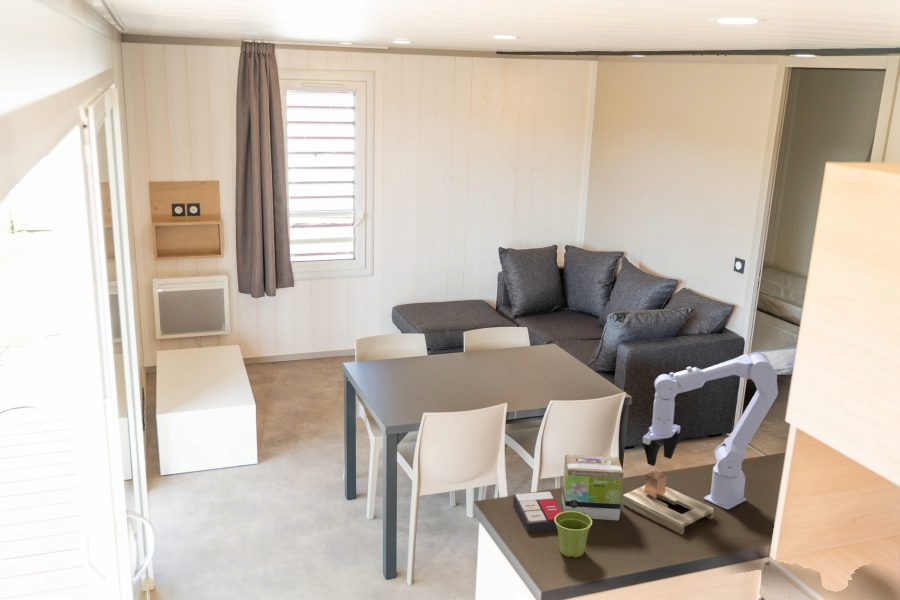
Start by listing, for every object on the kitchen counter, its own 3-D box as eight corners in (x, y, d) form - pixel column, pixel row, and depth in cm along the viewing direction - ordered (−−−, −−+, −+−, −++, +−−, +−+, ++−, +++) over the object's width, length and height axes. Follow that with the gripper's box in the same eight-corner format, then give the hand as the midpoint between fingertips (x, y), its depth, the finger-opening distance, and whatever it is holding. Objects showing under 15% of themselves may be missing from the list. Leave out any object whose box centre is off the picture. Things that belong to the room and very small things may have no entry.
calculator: (527, 521, 208) (513, 492, 222) (527, 536, 209) (512, 505, 223) (568, 518, 210) (551, 489, 224) (567, 532, 211) (550, 502, 225)
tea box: (564, 519, 216) (567, 469, 212) (561, 501, 226) (564, 453, 222) (620, 521, 215) (623, 471, 212) (615, 503, 225) (618, 455, 221)
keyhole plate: (653, 490, 233) (654, 481, 232) (712, 518, 217) (713, 508, 217) (622, 504, 224) (622, 494, 224) (681, 534, 209) (682, 524, 208)
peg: (652, 499, 227) (654, 470, 225) (664, 505, 224) (667, 475, 222) (642, 504, 225) (644, 474, 222) (655, 510, 221) (657, 480, 219)
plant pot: (545, 549, 201) (546, 518, 199) (571, 537, 207) (572, 507, 205) (572, 566, 194) (573, 534, 192) (598, 553, 200) (600, 522, 198)
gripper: (667, 406, 232) (663, 449, 235) (635, 418, 223) (632, 462, 227) (687, 414, 227) (683, 458, 230) (655, 426, 218) (652, 471, 221)
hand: (659, 461), depth 228 cm, fingers open, 7 cm apart
